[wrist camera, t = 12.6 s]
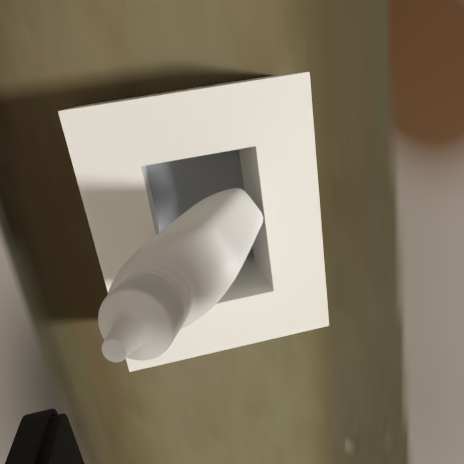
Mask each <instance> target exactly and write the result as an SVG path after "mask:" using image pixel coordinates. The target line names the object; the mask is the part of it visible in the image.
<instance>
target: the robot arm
mask: <svg viewBox="0 0 464 464" xmlns="http://www.w3.org/2000/svg"><path fill="white" fill-rule="evenodd" d="M5 464H84V462H83V459H82V456H81V453H80V451H79V448H78V445H77V442H76V439H75V437H74V434H73V431H72V428H71V426H70V423H69V420H68V417H67V415H66V414H64V413H63V414H59V415H58V413H57V411H56V410H55V409H49V410H45V411H40V412H36V413H32V414H28V415H25V416H24V417H23V418H22V420H21V422H20V425H19V428H18V430H17V433H16V436H15V439H14V441H13V444H12V447H11V449H10V452H9V454H8V457H7V460H6V462H5Z"/></svg>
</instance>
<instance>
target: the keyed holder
mask: <svg viewBox="0 0 464 464" xmlns="http://www.w3.org/2000/svg"><path fill="white" fill-rule="evenodd" d="M58 114H59V117H60V121H61V124H62V128H63V132H64V135H65V139H66V143H67V146H68V150H69V154H70V157H71V161H72V164H73V168H74V172H75V175H76V179H77V183H78V186H79V190H80V194H81V197H82V201H83V204H84V208H85V212H86V215H87V219H88V223H89V226H90V230H91V233H92V237H93V241H94V244H95V248H96V252H97V255H98V259H99V263H100V266H101V270H102V273H103V277H104V281H105V284H106V288H107V292H109V289H110V287H111V284H112V282H113V280H114V278H115V277H116V275H117V273H118V272H119V270H120V269H121V268H122V266H123V265H124V264H125V263H126V261H127V260H128V259H129V258H130V257H131V256H132V255H133V254H134V253H135V252H136V251H137V250H138V249H140V248H141V247H142V246H143V245H144V244H146V243H147V242H148V241H149V240H151V239H152V238H153V237H154V236H156V235H157V234H158V233H159V232H161V231H162V230H163V229H164V228H166V227H167V226H168V225H170V224H171V223H172V222H173V221H175V220H176V219H177V218H178V217H180V216H181V215H182V214H183V213H185V212H186V211H187V210H189V209H190V208H191V207H192V206H194V205H195V204H197V203H198V202H200V201H201V200H203V199H205V198H207V197H209V196H211V195H213V194H215V193H218V192H221V191H224V190H228V189H233V188H240V189H242V190H244V191H245V192H246V193H247V194H248V195H249V196H250V198H251V199H252V200H253V202H254V203H255V204H256V206H257V207H258V208H259V210H260V211H261V212H262V215H263V223H262V226H261V228H260V230H259V232H258V234H257V236H256V239H255V241H254V243H253V245H252V247H251V249H250V251H249V253H248V255H247V257H246V260H245V262H244V264H243V266H242V267H241V269H240V271H239V273H238V275H237V277H236V278H235V280H234V281H233V283H232V284H231V286H230V287H229V289H228V290H227V292H226V293H225V294H224V295H223V297H222V298H221V299H220V300H219V301H218V302H217V303H216V304H215V305H214V306H213V307H212V308H211V309H210V310H209V311H208V312H207V313H206V314H204V315H203V316H202V317H201V318H199V319H198V320H196V321H195V322H193V323H192V324H190V325H188V326H186V327H184V328H182V329H180V331H179V332H178V334H177V335H176V337H175V339H174V340H173V342H172V344H171V345H170V347H169V348H168V349H167V350H166V351H165V353H163V354H162V355H159V357H156V358H153V359H152V360H151V359H149V360H145V361H143V360H141V361H139V360H132V359H129V358H126V361H127V364H128V368H129V372H132V371H136V370H140V369H144V368H149V367H153V366H157V365H162V364H166V363H170V362H175V361H179V360H183V359H188V358H192V357H196V356H201V355H205V354H209V353H213V352H218V351H222V350H226V349H231V348H235V347H239V346H244V345H248V344H252V343H257V342H261V341H265V340H270V339H274V338H278V337H282V336H287V335H291V334H295V333H300V332H304V331H308V330H313V329H317V328H321V327H326V326H329V318H328V305H327V292H326V279H325V266H324V253H323V240H322V227H321V214H320V201H319V188H318V175H317V162H316V149H315V136H314V123H313V110H312V97H311V84H310V72H302V73H292V74H282V75H273V76H267V77H260V78H254V79H248V80H241V81H235V82H228V83H222V84H216V85H209V86H203V87H196V88H190V89H184V90H177V91H171V92H164V93H158V94H152V95H145V96H139V97H132V98H126V99H120V100H113V101H107V102H100V103H94V104H88V105H81V106H77V107H73V108H69V109H65V110H61V111H58Z"/></svg>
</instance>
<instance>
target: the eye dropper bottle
mask: <svg viewBox="0 0 464 464" xmlns="http://www.w3.org/2000/svg"><path fill="white" fill-rule="evenodd" d="M262 223H263V215H262V212H261V211H260V210H259V208H258V207H257V206H256V204H255V203H254V202H253V200H252V199H251V198H250V196H249V195H248V194H247V193H246V192H245V191H244V190H242V189H240V188H233V189H228V190H224V191H221V192H218V193H215V194H213V195H211V196H209V197H207V198H205V199H203V200H201V201H200V202H198V203H197V204H195V205H194V206H192V207H191V208H190V209H189V210H187V211H186V212H185V213H183V214H182V215H181V216H180V217H178V218H177V219H176V220H175V221H173V222H172V223H171V224H170V225H168V226H167V227H166V228H164V229H163V230H162V231H161V232H159V233H158V234H157V235H156V236H154V237H153V238H152V239H151V240H149V241H148V242H147V243H146V244H144V245H143V246H142V247H141V248H140V249H138V250H137V251H136V252H135V253H134V254H133V255H132V256H131V257H130V258H129V259H128V260H127V261H126V263H125V264H124V265H123V266H122V268H121V269H120V270H119V272H118V273H117V275H116V277H115V278H114V280H113V282H112V284H111V287H110V289H109V292H108V295H107V296H106V298H105V299H104V301H103V302H102V305H101V306H100V309H99V313H98V315H99V316H98V319H99V320H98V322H99V324H98V325H99V329H100V332H101V334H102V336H103V338H104V340H105V341H104V343H103V345H102V353H103V355H104V356H105V358H106V359H108V360H109V361H111V362H121V361H122V360H124V359H125V358H129V359H132V360H139V361H141V360H143V361H145V360H149V359H151V360H152V359H153V358H156V357H159V355H162V354H163V353H165V351H166V350H167V349H168V348H169V347H170V345H171V344H172V342H173V340H174V339H175V337H176V335H177V334H178V332H179V331H180V329H182V328H184V327H186V326H188V325H190V324H192V323H193V322H195V321H196V320H198V319H199V318H201V317H202V316H203V315H204V314H206V313H207V312H208V311H209V310H210V309H211V308H212V307H213V306H214V305H215V304H216V303H217V302H218V301H219V300H220V299H221V298H222V297H223V295H224V294H225V293H226V292H227V290H228V289H229V287H230V286H231V284H232V283H233V281H234V280H235V278H236V277H237V275H238V273H239V271H240V269H241V267H242V266H243V264H244V262H245V260H246V257H247V255H248V253H249V251H250V249H251V247H252V245H253V243H254V241H255V239H256V236H257V234H258V232H259V230H260V228H261V226H262Z"/></svg>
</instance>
